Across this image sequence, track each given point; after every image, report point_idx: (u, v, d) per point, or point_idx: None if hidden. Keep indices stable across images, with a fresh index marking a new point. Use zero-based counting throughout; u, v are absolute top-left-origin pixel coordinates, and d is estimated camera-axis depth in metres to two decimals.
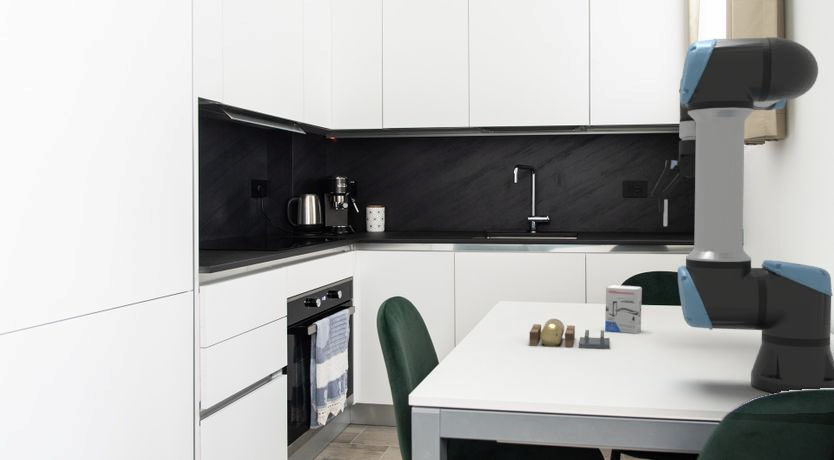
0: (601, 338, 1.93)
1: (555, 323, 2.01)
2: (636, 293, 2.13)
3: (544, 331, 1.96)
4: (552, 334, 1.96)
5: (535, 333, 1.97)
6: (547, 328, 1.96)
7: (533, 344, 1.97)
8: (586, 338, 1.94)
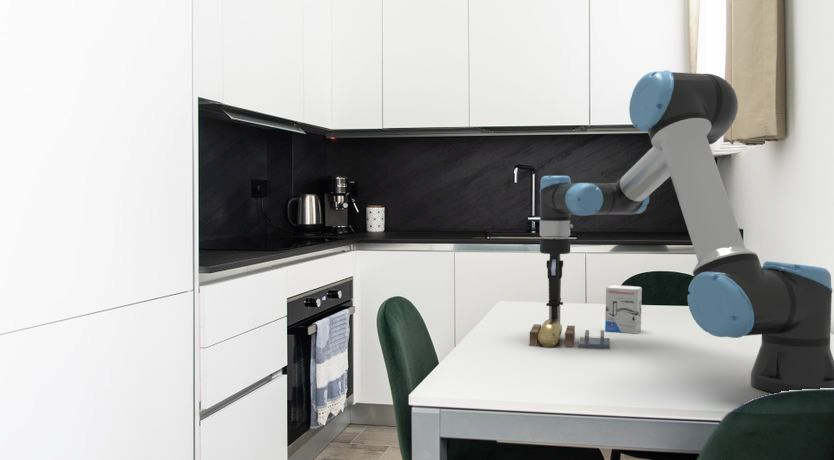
0: (601, 338, 1.93)
1: (551, 323, 2.00)
2: (636, 293, 2.13)
3: (541, 332, 1.95)
4: (548, 334, 1.95)
5: (535, 333, 1.97)
6: (543, 329, 1.95)
7: (533, 344, 1.97)
8: (586, 338, 1.94)
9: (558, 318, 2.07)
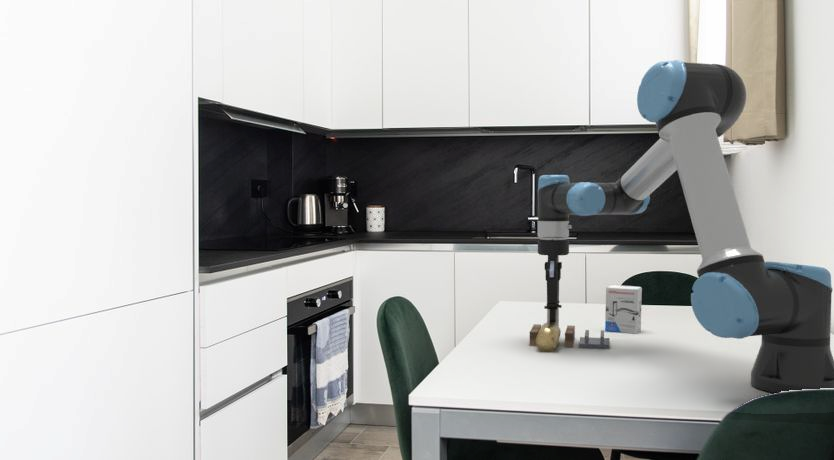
0: (601, 338, 1.93)
1: (549, 326, 1.94)
2: (636, 293, 2.13)
3: (539, 337, 1.90)
4: (547, 338, 1.89)
5: (535, 333, 1.97)
6: (541, 333, 1.89)
7: (533, 344, 1.97)
8: (586, 338, 1.94)
9: (556, 321, 2.01)
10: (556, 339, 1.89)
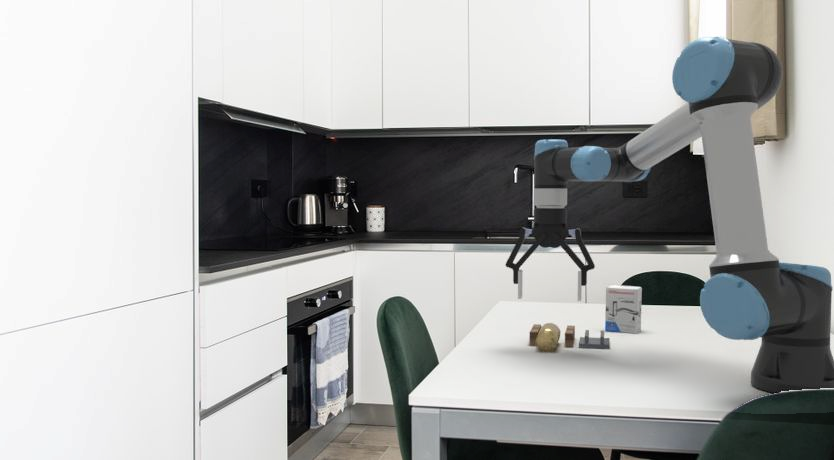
0: (601, 338, 1.93)
1: (548, 327, 1.94)
2: (636, 293, 2.13)
3: (538, 338, 1.90)
4: (547, 339, 1.89)
5: (535, 333, 1.97)
6: (541, 334, 1.89)
7: (533, 344, 1.97)
8: (586, 338, 1.94)
9: None
10: (556, 340, 1.89)
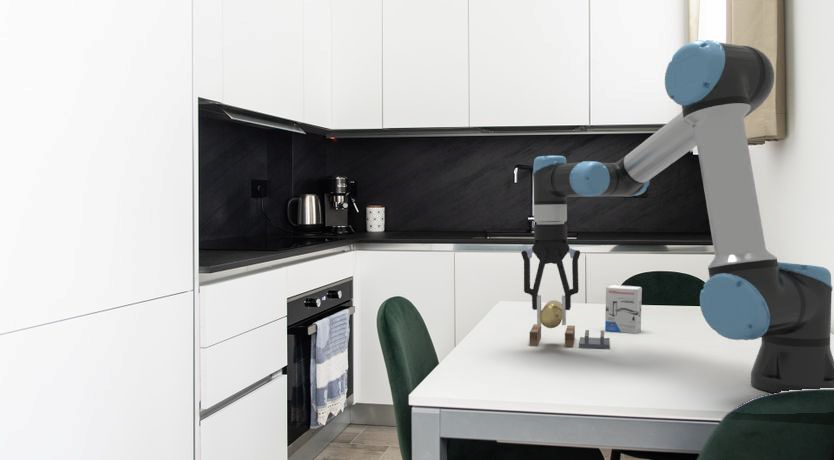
0: (601, 338, 1.93)
1: (555, 304, 1.93)
2: (636, 293, 2.13)
3: (543, 311, 1.89)
4: (551, 314, 1.88)
5: (535, 333, 1.97)
6: (547, 308, 1.89)
7: (533, 344, 1.97)
8: (586, 338, 1.94)
9: None
10: (560, 317, 1.88)
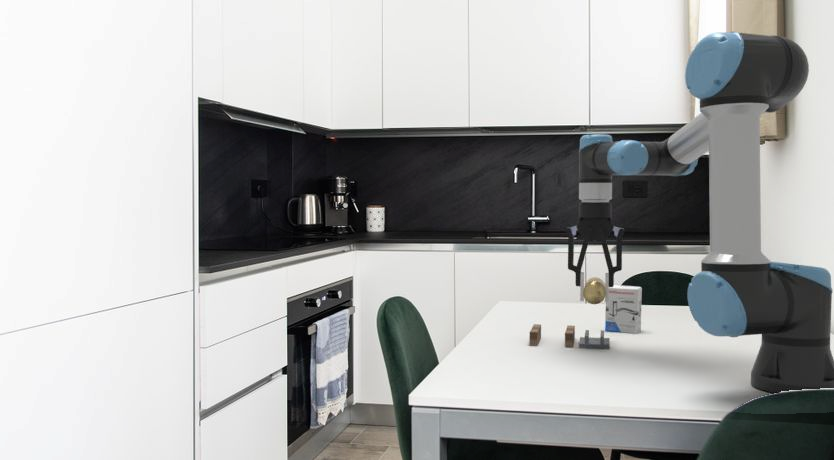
0: (601, 338, 1.93)
1: (598, 281, 1.96)
2: (636, 293, 2.13)
3: (587, 288, 1.92)
4: (595, 291, 1.91)
5: (535, 333, 1.97)
6: (590, 284, 1.92)
7: (533, 344, 1.97)
8: (586, 338, 1.94)
9: None
10: (604, 294, 1.91)
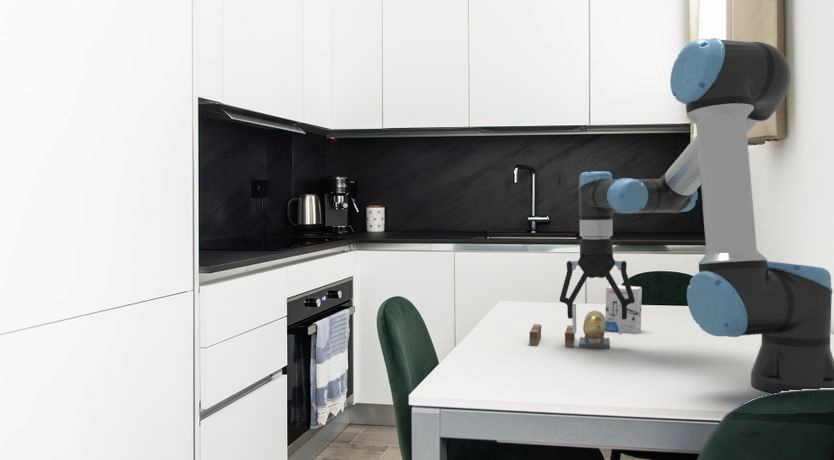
0: (601, 338, 1.93)
1: (597, 315, 1.96)
2: (636, 293, 2.13)
3: (587, 323, 1.92)
4: (595, 326, 1.92)
5: (535, 333, 1.97)
6: (590, 320, 1.92)
7: (533, 344, 1.97)
8: (586, 338, 1.94)
9: None
10: (604, 329, 1.91)
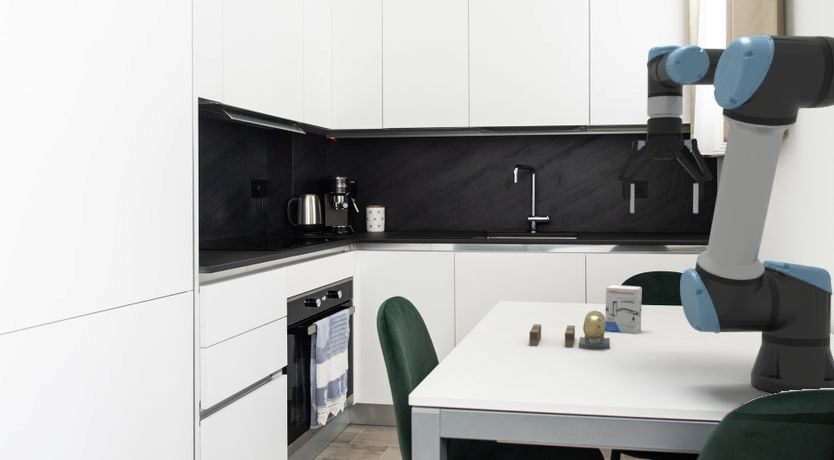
0: (601, 338, 1.93)
1: (597, 315, 1.96)
2: (636, 293, 2.13)
3: (587, 323, 1.92)
4: (595, 326, 1.92)
5: (535, 333, 1.97)
6: (590, 320, 1.92)
7: (533, 344, 1.97)
8: (586, 338, 1.94)
9: None
10: (604, 329, 1.91)
